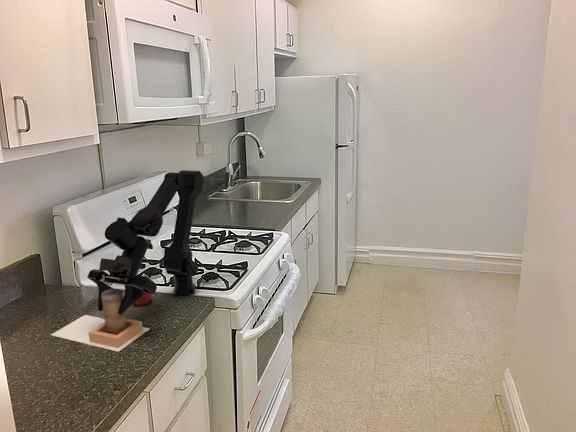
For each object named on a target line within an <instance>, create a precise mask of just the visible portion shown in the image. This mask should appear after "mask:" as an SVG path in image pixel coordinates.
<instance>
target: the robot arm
mask: <svg viewBox="0 0 576 432" xmlns="http://www.w3.org/2000/svg"><path fill="white" fill-rule="evenodd" d="M204 183H205V177H204V175H203V174H202V172H201V171H200V170H186V169H184V170H183V169H182V170H180V171H179V172H171V171H170V172H166V173H165V174H164V177H163V181H162V182H161V184H160V185H159V186H158V189H157V190H156V192H155V193H154V195H153V196H152V198H151V199H150V201H149V202H148V204H147V205H146V206H145V207H142V209H139V210H138V211H137V212H136V214H134V215H133V216H132V218H131V220H129V221H128V220H127V219H126V218H124V217H117V218H116V220H115V221H113V222H111V223H110V224H109V225H108V226H107V227H106V228H105V231H104V237H105V239H106V240H108V241H109V242H110V243H111V244H113V245H114V246H116V247H117V248H118V249H120V250H122V253H121V255H119V254H117V255H116V256H115V259H111V258H100V261H99V262H100V263H99V267H98V269H96V268H95V269H94V268H93V269H91V270H89V272H88V274H87V277H86V279H88V280H89V281H91V282H93V283H94V284H96V286H97V288H98V289H97V290H98V301H97V310H98V311H99V312H102V311H103V304H102V297H101V294H102V292H104V291H106V290H110V289H114V288H113V287H112V285H113V284H116V285H121V286H124V295H123V296H122V297H123V300H122V302H121V305H120V307H119V311H118V314H119V315H122V314H123V313H124V314H125V312H126V311H127V310H128V309H129V308H130V307H131V306H132V305H133V304H135V303H134V302H136V301H137V300H138V299H139V298H140V297H142V296H145V295H146V294H145V293H149V294H151V295H156V292H157V289H158V287H157V283H156V282H155V281H154V280H152V279H150V277H148V276H144V275H138V273H139V271H140V270H143V269H144V267H145V266H144V265H143V264H142V263H143V261H144V258H145V255H146V253H147V250H153V249H154V246H153V244H152V242H151V241H152V240H151V239H148V238H145V237H153V238H154V237H157V236H158V234H159V233H160V231H161V228H162V226H163V225H164V224H163V223H164V219H163V215H164V214H165V211H166V210H167V208H168V207H169V205H170V204H171V202H172V200H173V198H174V197H175V195H176V193H177V194H178V197H179V199H178V206H177V210H176V211H177V212H176V218H175V222H174V231H173V237H172V242H171V244H170V245H169V246H166V247H165V248H164V249H163V251H164V253H163V258H162V261H163V267H164V269H165V271H166V274H167V275H172V276H173V281H174V289H173V296H176V297H177V296H186V295H187V296H188V294H189V295H195V293H196V292H195V291H196V284H194V280H193V277H194V276H196V275H197V273H198V272H199V264H198V263H196V262H195V261H194V260H193V251H192V249H191V247H190V238H191V237H190V236H191V232H192V224H193V217H194V210H195V205H196V204H195V203H196V199H197V198H198V197H199V195H201V193H202V191H203V189H204V188H203V187H204ZM144 292H145V293H144Z"/></svg>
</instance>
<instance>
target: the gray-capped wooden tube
mask: <svg viewBox="0 0 576 432" xmlns="http://www.w3.org/2000/svg"><path fill="white" fill-rule="evenodd" d="M101 297H102V304H103V310H102V311H103V319H105V327H106V333H109V334H114V335H118V334H119V333H121V332H122V331H124V330H125V329H126V322H125V318H126V314H125V312H124V313H123V314H122V315H119V314H118V311H119V307H120V305H121V302H122V300H123V297H124V296H123V290H122V289H119V288H113V289H110V290H106V291H104V292H102V294H101Z"/></svg>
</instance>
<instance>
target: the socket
mask: <svg viewBox="0 0 576 432" xmlns="http://www.w3.org/2000/svg"><path fill="white" fill-rule="evenodd" d="M125 322H126V329H125V330H124V331H122V332H121V333H119V334H118V335H114V334H109V333H106V327H105V322H104V323H103V324H101V325H99V326H98V327H96V328H95V329H93V330H92V331H90V332H89V333H88V334H89V340H90V342H95V343H99V344H104V345H109V346H113V347H118V348H119V347H121V346H122V345H123V344H125V343H126V342H127V341H129V340H130V339H131V338H133V337H134V336H135V335H137V334H138V333H139V332H141V331H142V330H143V327H144V326H143V322H142V321H141V320H137V319H131V318H126V317H125Z"/></svg>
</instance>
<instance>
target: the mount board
mask: <svg viewBox="0 0 576 432" xmlns="http://www.w3.org/2000/svg"><path fill="white" fill-rule="evenodd" d="M104 322H105V319H104V318H102V317H97V316H93V315H89V314H88V315H87V314H84V315H83V316H81V317H79V318H77V319H75V320H74V321H72V322H70V323H69V324H67V325H65V326H63V327H62V328H59V329H58V330H56V331H55V332H53V333H51V334H50V336H52V337H57V338H62V339H65V340H70V341H72V342H73V341H74V342H77V343H81V344H86V345H90V346H94V347H98V348H102V349H106V350H110V351H114V352H117V353H118V352H120V351H121V350H123V349H124V348H125V347H127V346H128V345H130V344H131V343H132V342H134V341H135V340H136V339H138V338H139V337H141V336H142V335H144V334H145V333H146V332H148V331H149V330H150V328H148V327H144V326H142V327H143V330H142V331H141V332H139V333H138V334H137V335H135V336H134V337H133V338H131V339H130V340H129V341H127V342H126V343H125V344H123V345H122V346H121V347H119V348H118V347H113V346H109V345H104V344H99V343H95V342H90V340H89V334H88V333H89V332H90V331H92V330H93V329H95V328H96V327H98V326H99V325H101V324H103V323H104Z"/></svg>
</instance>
